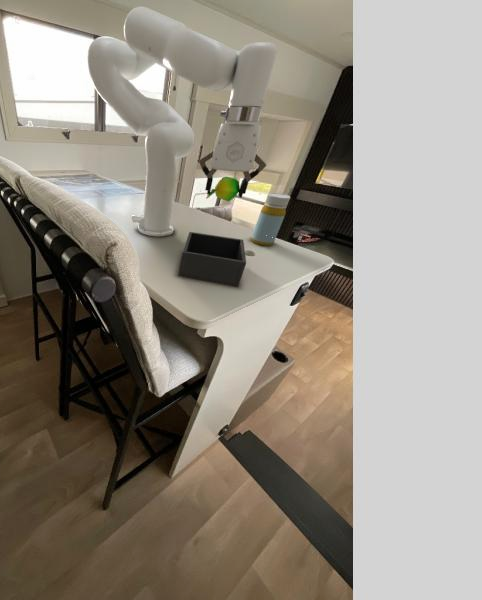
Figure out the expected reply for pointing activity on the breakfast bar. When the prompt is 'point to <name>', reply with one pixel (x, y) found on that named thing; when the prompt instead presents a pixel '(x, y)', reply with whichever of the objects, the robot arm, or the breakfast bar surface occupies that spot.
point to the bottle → (270, 219)
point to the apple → (226, 189)
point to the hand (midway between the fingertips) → (224, 194)
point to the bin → (213, 259)
